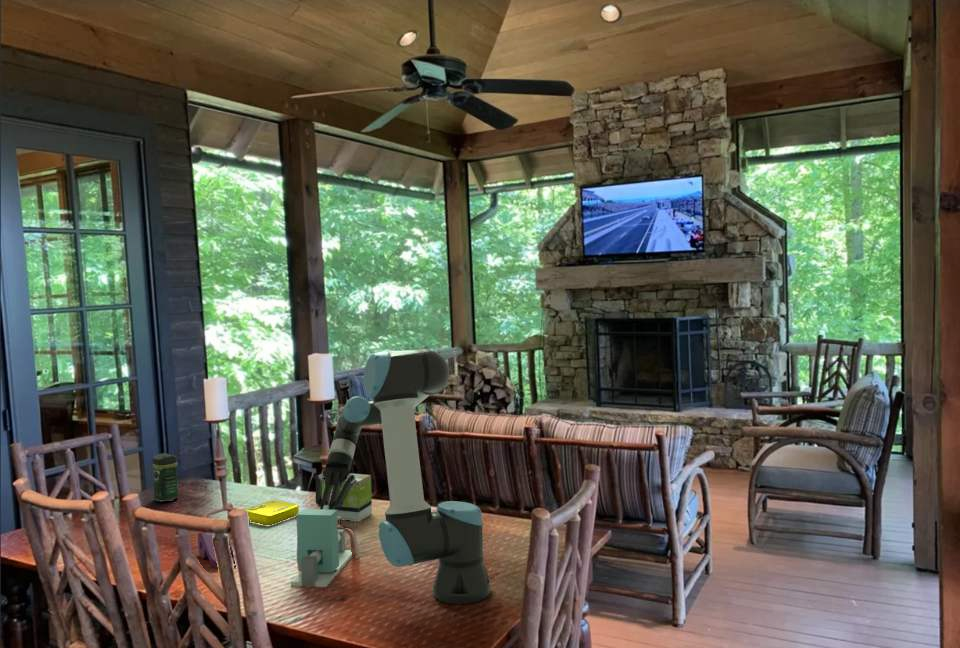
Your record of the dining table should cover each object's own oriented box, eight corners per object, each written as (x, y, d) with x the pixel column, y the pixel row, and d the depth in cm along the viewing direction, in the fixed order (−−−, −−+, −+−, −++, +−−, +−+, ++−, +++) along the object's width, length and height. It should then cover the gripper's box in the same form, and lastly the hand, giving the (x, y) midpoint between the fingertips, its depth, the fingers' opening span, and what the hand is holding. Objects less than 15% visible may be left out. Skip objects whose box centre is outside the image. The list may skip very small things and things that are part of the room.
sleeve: (305, 564, 195) (303, 509, 195) (339, 565, 194) (337, 509, 193) (298, 571, 190) (296, 514, 190) (332, 572, 189) (330, 515, 188)
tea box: (321, 519, 242) (320, 478, 242) (336, 511, 252) (335, 471, 251) (359, 522, 237) (358, 480, 237) (372, 514, 247) (371, 473, 246)
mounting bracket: (244, 580, 205) (228, 540, 218) (247, 558, 202) (230, 519, 215) (211, 588, 199) (196, 546, 212) (214, 566, 196) (199, 525, 209)
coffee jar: (181, 499, 272) (180, 453, 271) (161, 504, 266) (160, 457, 265) (170, 495, 278) (168, 450, 277) (151, 500, 272) (149, 454, 271)
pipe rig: (324, 553, 209) (323, 528, 209) (355, 553, 208) (354, 528, 207) (290, 586, 185) (289, 558, 185) (325, 587, 184) (325, 559, 183)
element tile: (268, 528, 235) (268, 514, 235) (239, 522, 243) (239, 508, 243) (301, 516, 248) (300, 503, 248) (272, 510, 256) (272, 497, 256)
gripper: (363, 463, 213) (347, 534, 197) (324, 463, 215) (304, 533, 199) (357, 450, 208) (340, 522, 192) (317, 450, 209) (296, 521, 194)
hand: (322, 528), depth 195 cm, fingers closed
